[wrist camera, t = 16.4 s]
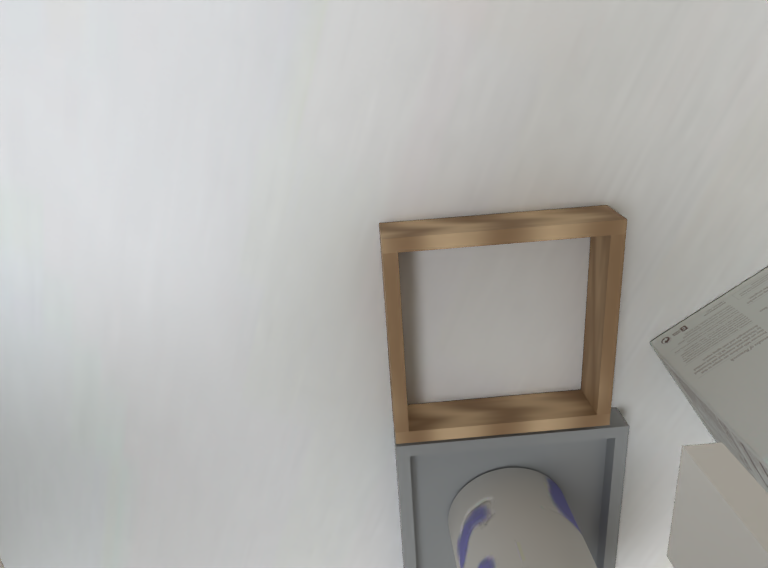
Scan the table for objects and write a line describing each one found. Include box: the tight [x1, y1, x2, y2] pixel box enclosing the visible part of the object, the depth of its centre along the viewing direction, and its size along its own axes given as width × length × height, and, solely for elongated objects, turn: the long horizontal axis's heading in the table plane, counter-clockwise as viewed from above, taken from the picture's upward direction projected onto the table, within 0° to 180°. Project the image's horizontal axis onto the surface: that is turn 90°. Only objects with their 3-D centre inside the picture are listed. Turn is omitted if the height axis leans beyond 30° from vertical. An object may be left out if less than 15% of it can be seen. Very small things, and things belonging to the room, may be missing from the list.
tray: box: [394, 408, 629, 568], centre depth 53 cm, size 18×18×2 cm
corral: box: [379, 205, 627, 444], centre depth 46 cm, size 16×16×4 cm
